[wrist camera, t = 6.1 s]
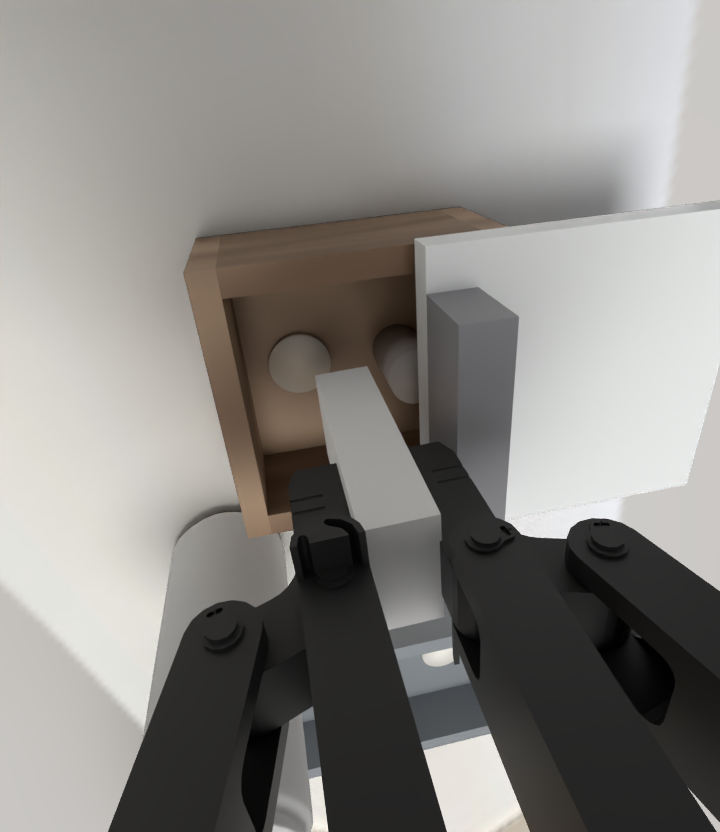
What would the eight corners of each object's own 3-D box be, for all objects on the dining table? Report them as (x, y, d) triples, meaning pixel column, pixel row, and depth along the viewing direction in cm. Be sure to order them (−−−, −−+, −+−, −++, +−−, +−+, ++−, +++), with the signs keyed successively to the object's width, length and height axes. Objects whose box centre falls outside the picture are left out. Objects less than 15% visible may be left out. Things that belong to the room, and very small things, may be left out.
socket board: (184, 626, 26) (177, 694, 23) (520, 557, 28) (554, 610, 25) (223, 734, 30) (221, 802, 27) (510, 667, 32) (537, 723, 29)
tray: (195, 238, 18) (183, 273, 14) (460, 207, 19) (517, 230, 15) (246, 464, 22) (248, 538, 18) (457, 428, 23) (500, 490, 19)
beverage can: (163, 580, 24) (105, 926, 14) (186, 495, 22) (139, 822, 12) (268, 592, 26) (286, 911, 15) (298, 514, 24) (342, 817, 14)
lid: (414, 238, 14) (459, 270, 11) (735, 198, 15) (851, 218, 12) (422, 515, 19) (455, 589, 16) (667, 468, 20) (740, 529, 17)
